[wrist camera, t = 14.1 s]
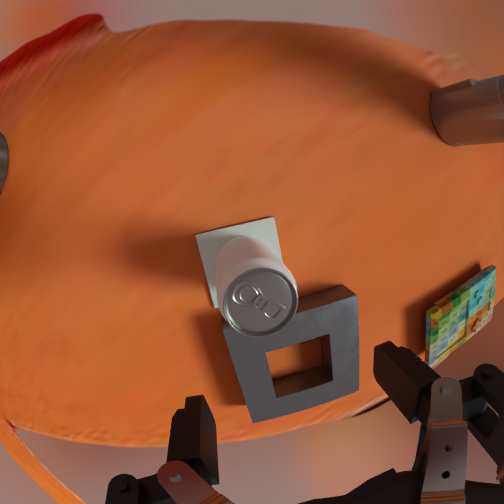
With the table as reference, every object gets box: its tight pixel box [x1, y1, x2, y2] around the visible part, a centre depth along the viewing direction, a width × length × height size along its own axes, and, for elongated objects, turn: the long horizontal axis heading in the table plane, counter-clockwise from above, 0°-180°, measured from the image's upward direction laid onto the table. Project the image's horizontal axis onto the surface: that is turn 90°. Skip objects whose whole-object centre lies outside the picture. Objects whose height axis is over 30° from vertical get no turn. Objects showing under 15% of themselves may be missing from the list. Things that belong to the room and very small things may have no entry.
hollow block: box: [222, 285, 359, 423], centre depth 34 cm, size 16×16×4 cm
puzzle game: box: [425, 265, 496, 367], centre depth 37 cm, size 12×5×20 cm
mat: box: [195, 217, 283, 308], centre depth 32 cm, size 9×9×1 cm
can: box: [216, 237, 298, 338], centre depth 26 cm, size 6×6×12 cm
